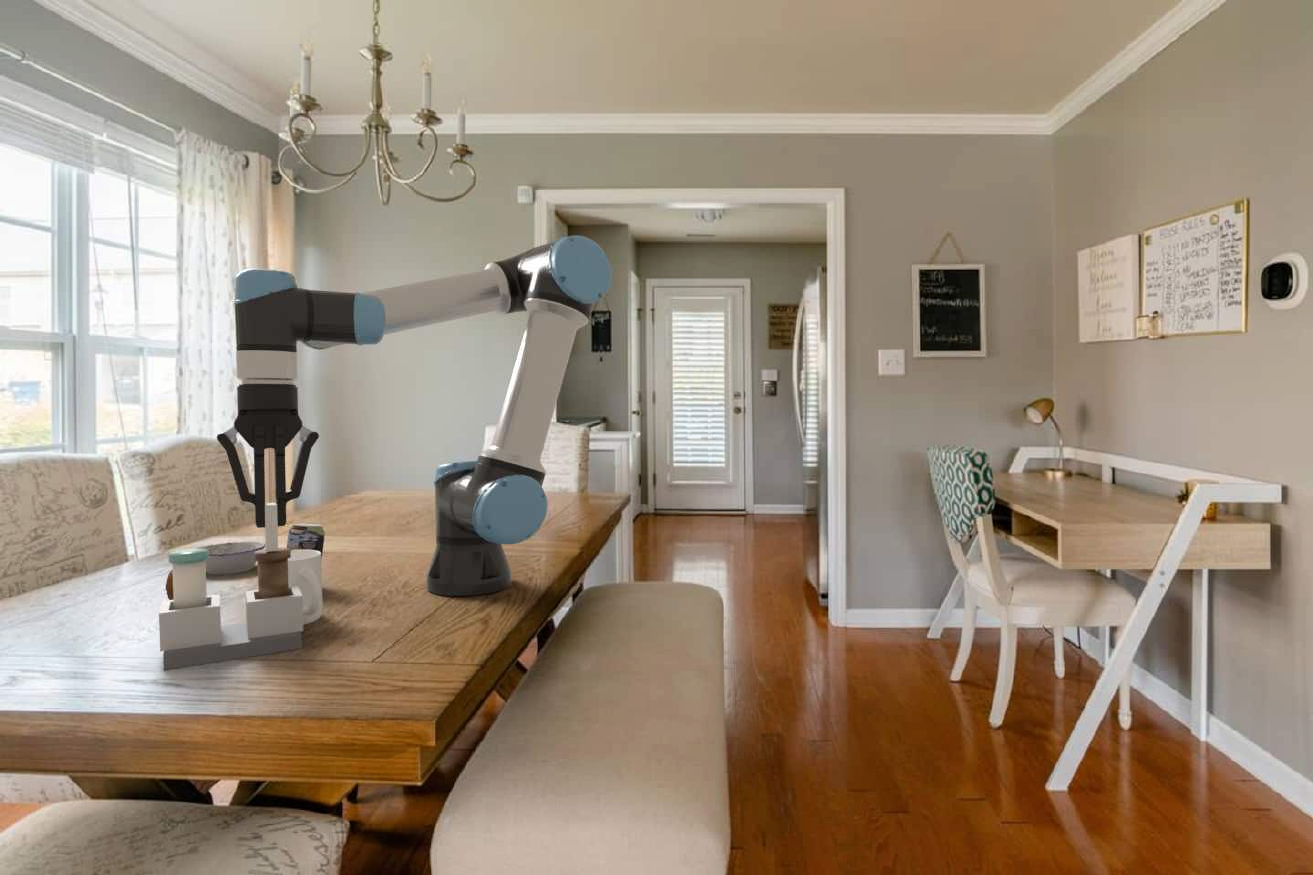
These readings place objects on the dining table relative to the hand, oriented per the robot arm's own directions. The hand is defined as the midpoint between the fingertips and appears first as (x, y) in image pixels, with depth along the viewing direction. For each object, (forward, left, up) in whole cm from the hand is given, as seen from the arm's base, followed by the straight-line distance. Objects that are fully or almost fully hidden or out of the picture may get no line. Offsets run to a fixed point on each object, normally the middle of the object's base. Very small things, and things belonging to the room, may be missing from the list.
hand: (271, 549), depth 105 cm
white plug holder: (+4, +2, -13) cm, 14 cm away
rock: (+23, -18, -14) cm, 32 cm away
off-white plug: (+8, +5, -7) cm, 12 cm away
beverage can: (+10, -29, -14) cm, 34 cm away
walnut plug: (0, 0, -8) cm, 8 cm away
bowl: (+32, -44, -14) cm, 56 cm away
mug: (+1, -9, -14) cm, 16 cm away
